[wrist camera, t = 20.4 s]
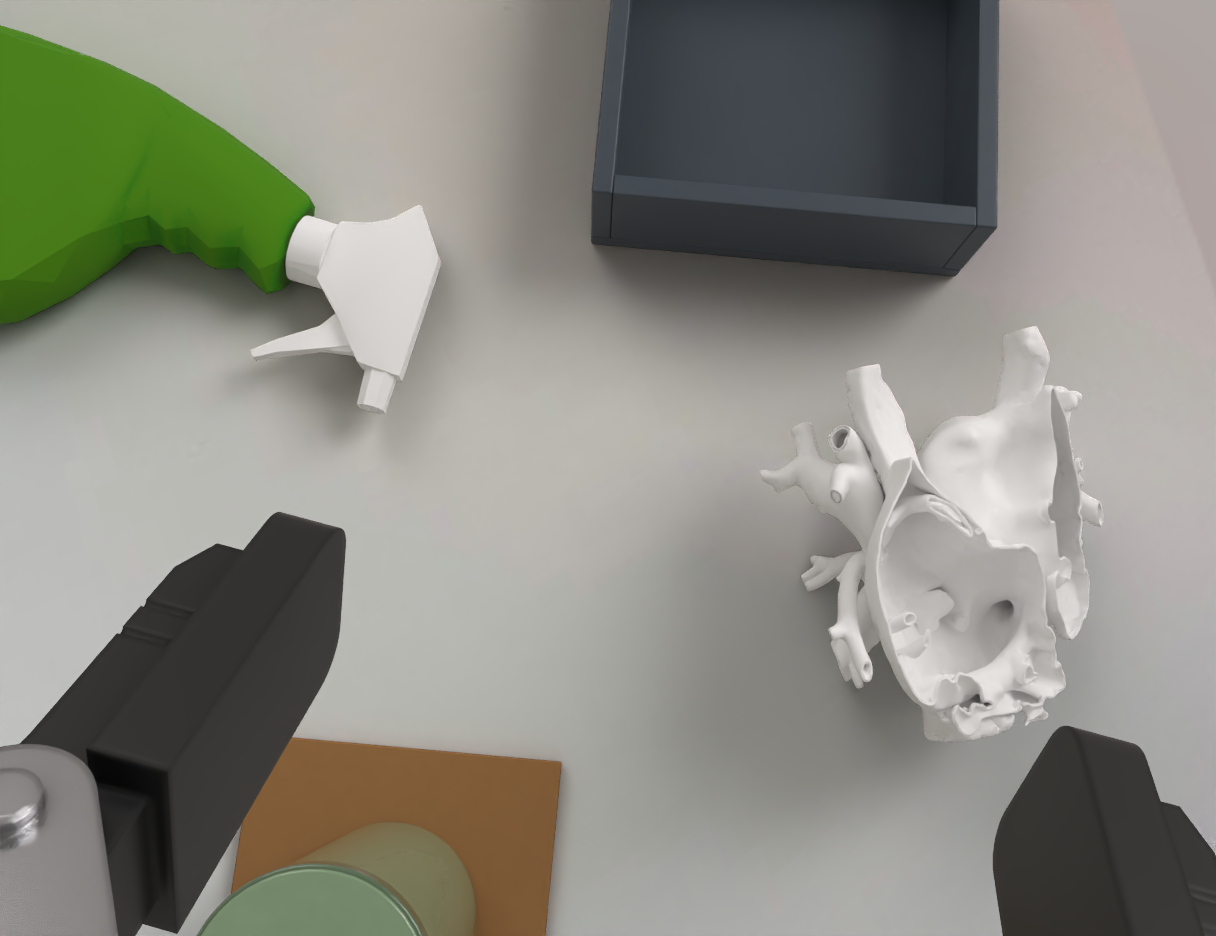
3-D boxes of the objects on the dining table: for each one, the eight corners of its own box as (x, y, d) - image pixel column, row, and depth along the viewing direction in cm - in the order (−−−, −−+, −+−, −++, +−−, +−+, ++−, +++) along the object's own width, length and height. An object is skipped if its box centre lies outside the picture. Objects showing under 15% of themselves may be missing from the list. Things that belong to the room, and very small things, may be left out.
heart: (883, 800, 29) (776, 383, 29) (782, 754, 36) (696, 413, 36) (1227, 675, 32) (1129, 299, 32) (1076, 654, 39) (995, 341, 39)
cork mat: (561, 761, 35) (561, 762, 35) (530, 1096, 33) (529, 1101, 32) (258, 734, 35) (255, 734, 35) (207, 1067, 33) (202, 1071, 32)
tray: (961, -41, 42) (1000, -120, 38) (955, 277, 39) (997, 228, 35) (622, -72, 42) (625, -154, 38) (591, 244, 39) (591, 191, 35)
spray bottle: (-135, 7, 40) (479, 190, 40) (-269, 263, 38) (381, 463, 37) (-190, -46, 38) (472, 150, 37) (-338, 227, 35) (365, 442, 34)
